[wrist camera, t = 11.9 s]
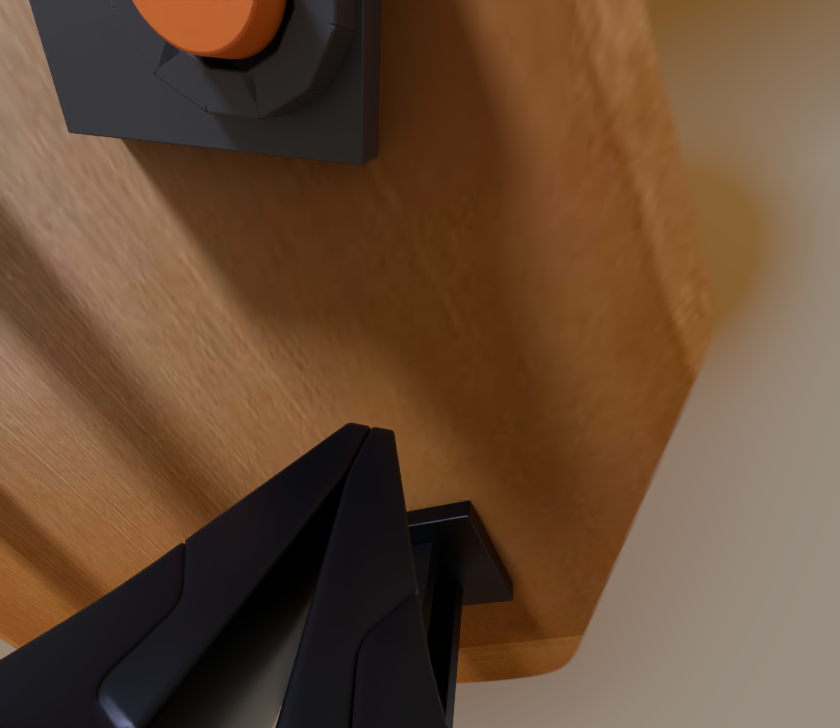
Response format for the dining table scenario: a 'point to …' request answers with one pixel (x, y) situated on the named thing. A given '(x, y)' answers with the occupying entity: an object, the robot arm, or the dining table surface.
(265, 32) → the button
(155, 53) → the button box
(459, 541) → the switch bracket
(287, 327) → the dining table surface
